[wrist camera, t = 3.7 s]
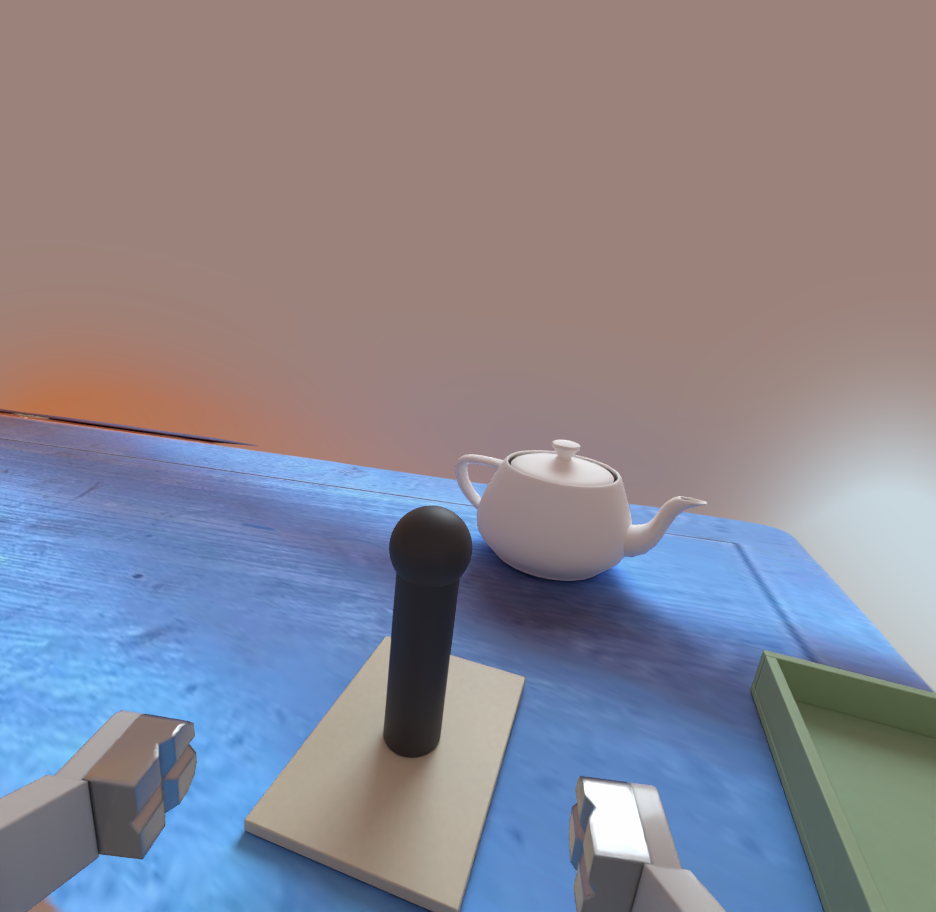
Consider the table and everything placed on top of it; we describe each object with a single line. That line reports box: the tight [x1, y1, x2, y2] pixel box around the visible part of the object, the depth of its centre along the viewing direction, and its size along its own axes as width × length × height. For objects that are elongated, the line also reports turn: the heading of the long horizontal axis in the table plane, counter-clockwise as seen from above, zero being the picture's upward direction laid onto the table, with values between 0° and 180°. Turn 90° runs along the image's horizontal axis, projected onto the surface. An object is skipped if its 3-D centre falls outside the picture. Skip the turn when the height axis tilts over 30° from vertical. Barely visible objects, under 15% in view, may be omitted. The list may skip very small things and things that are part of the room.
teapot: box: [455, 440, 707, 581], centre depth 45 cm, size 22×14×11 cm, turn 62°
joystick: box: [244, 506, 525, 912], centre depth 24 cm, size 13×9×13 cm
